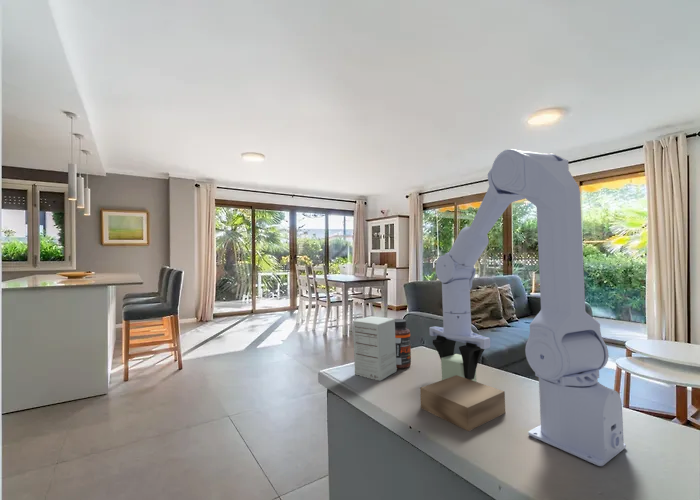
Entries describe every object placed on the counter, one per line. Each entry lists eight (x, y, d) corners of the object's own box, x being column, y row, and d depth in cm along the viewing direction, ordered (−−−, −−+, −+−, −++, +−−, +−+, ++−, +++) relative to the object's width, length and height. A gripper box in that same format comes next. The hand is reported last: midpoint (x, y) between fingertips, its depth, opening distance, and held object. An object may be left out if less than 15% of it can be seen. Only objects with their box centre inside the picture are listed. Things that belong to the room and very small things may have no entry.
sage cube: (476, 383, 71) (475, 359, 71) (460, 388, 68) (459, 363, 68) (457, 376, 75) (456, 353, 75) (441, 381, 72) (441, 357, 72)
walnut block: (505, 414, 57) (504, 391, 57) (468, 433, 52) (467, 407, 52) (457, 395, 66) (456, 375, 66) (421, 410, 60) (420, 387, 60)
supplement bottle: (404, 371, 79) (402, 323, 80) (382, 366, 83) (381, 320, 83) (415, 364, 84) (413, 319, 84) (394, 360, 88) (393, 317, 88)
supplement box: (371, 366, 84) (370, 315, 84) (397, 372, 79) (395, 318, 79) (353, 375, 78) (351, 320, 78) (380, 381, 73) (378, 323, 73)
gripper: (498, 313, 68) (501, 381, 68) (443, 306, 80) (445, 363, 80) (476, 317, 64) (478, 389, 64) (422, 309, 76) (424, 369, 76)
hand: (458, 375), depth 72 cm, fingers closed on sage cube, 5 cm apart
